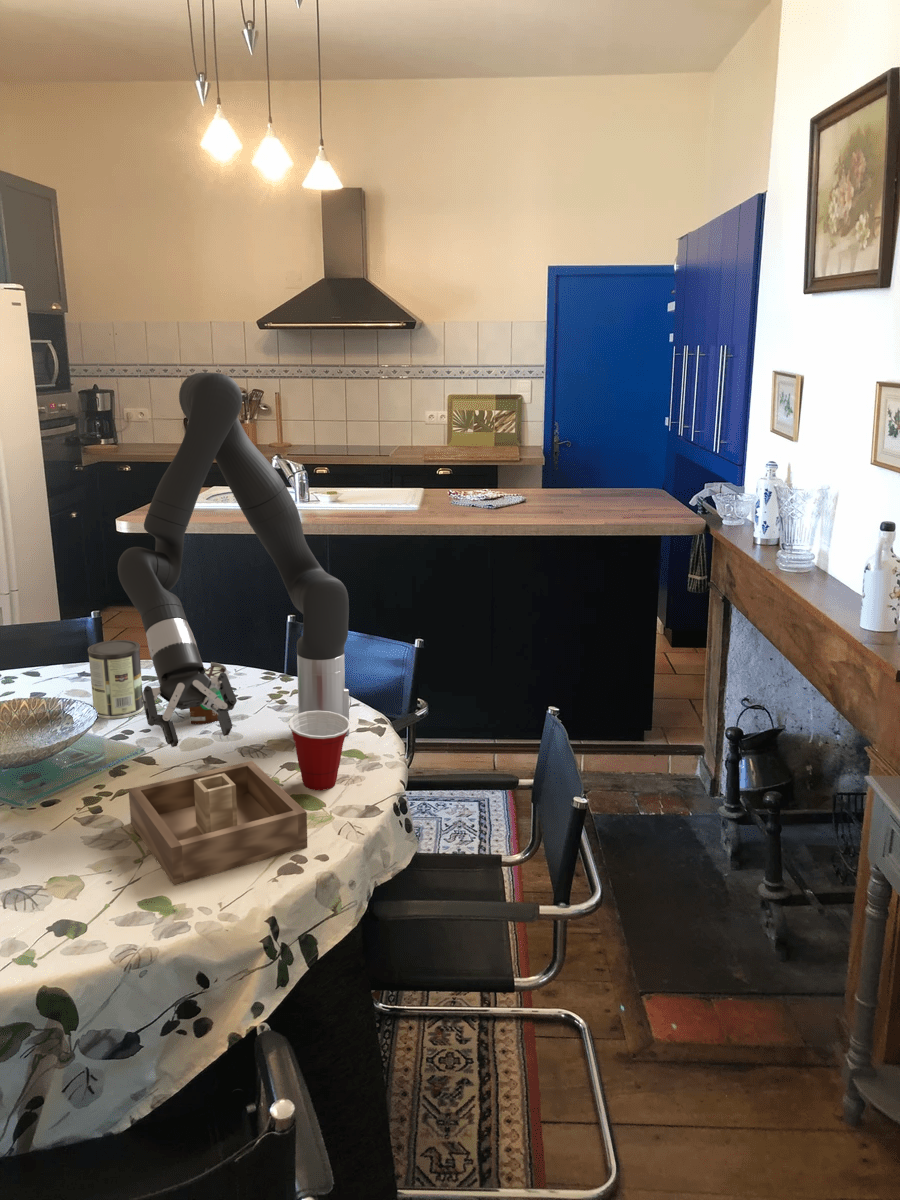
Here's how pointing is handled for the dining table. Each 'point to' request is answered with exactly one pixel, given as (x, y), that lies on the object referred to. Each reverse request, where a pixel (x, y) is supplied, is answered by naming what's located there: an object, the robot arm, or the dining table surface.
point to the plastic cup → (319, 746)
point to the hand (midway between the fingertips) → (201, 739)
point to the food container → (202, 713)
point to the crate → (188, 854)
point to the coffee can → (116, 678)
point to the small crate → (215, 803)
